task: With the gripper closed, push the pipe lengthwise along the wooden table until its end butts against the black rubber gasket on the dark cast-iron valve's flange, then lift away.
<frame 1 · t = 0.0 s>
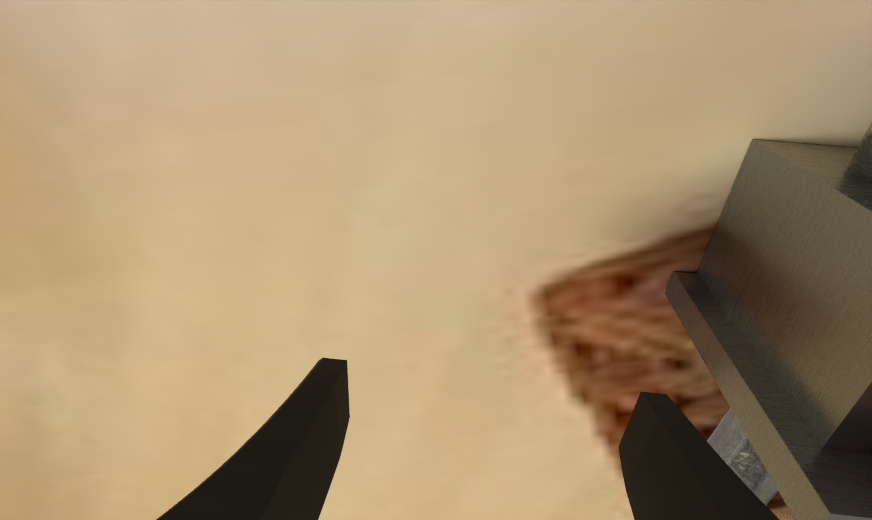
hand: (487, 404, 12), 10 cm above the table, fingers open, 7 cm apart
valve: (835, 222, 19), on the table
pipe: (704, 447, 27), on the table
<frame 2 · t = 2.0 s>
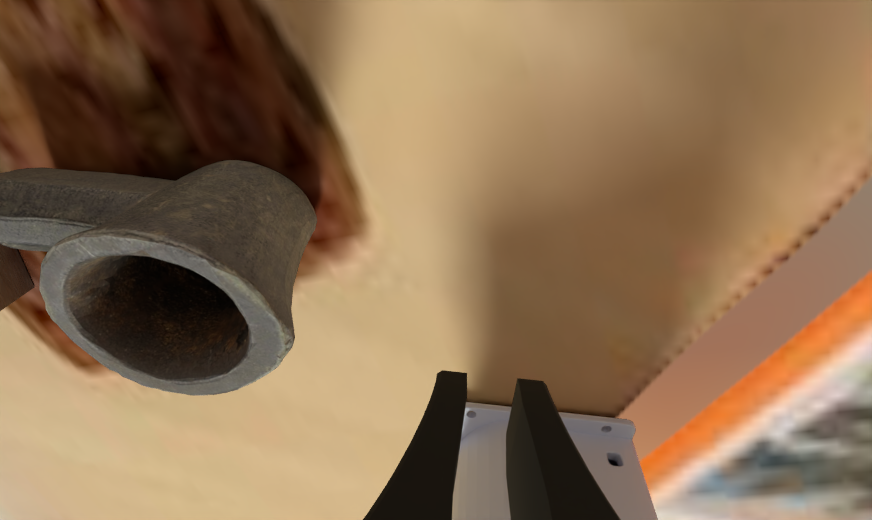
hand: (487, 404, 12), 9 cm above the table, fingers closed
pipe: (209, 201, 21), on the table
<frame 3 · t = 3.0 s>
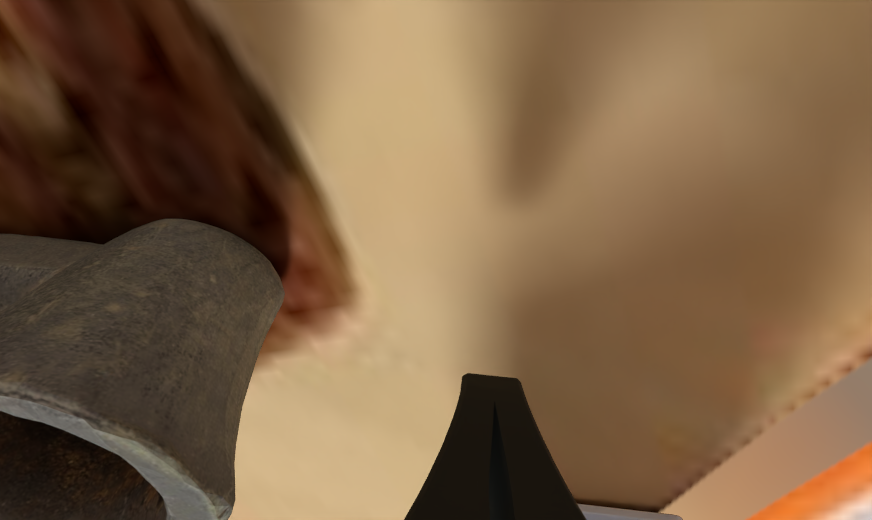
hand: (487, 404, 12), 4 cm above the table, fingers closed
pipe: (150, 263, 16), on the table
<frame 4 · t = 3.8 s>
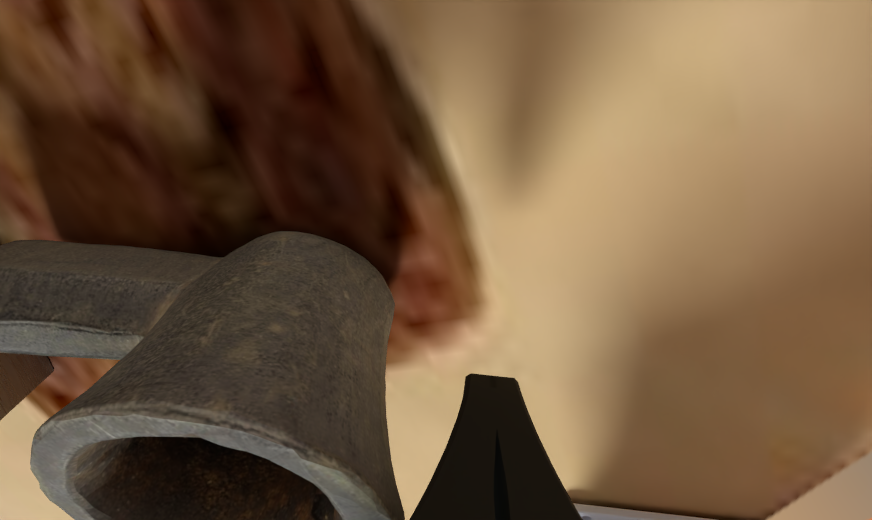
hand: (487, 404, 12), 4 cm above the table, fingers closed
pipe: (251, 275, 16), on the table, touching gripper
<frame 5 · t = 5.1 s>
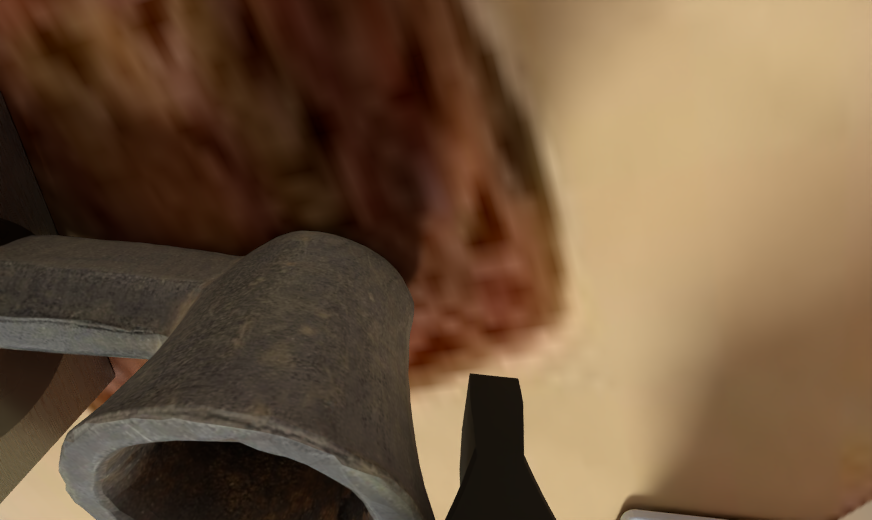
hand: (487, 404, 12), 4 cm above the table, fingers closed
pipe: (267, 274, 16), on the table, touching gripper, valve
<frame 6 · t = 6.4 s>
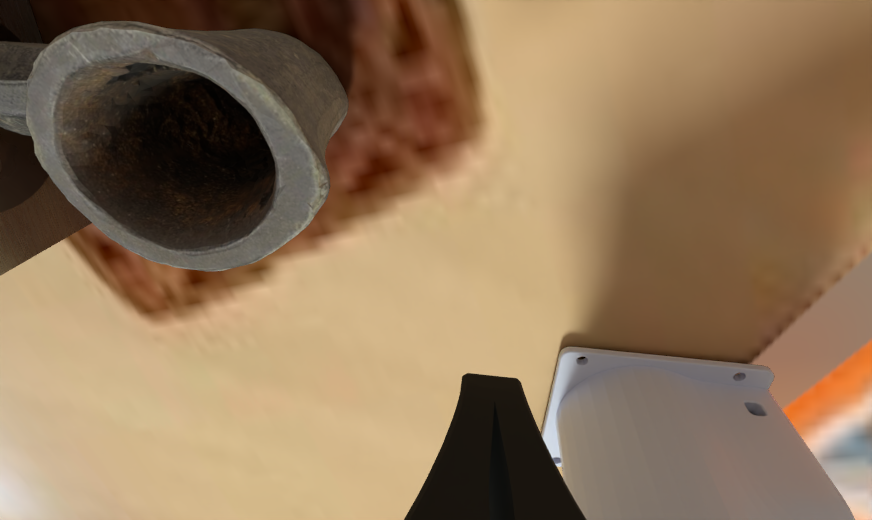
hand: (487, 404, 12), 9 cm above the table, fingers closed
pipe: (227, 93, 18), on the table
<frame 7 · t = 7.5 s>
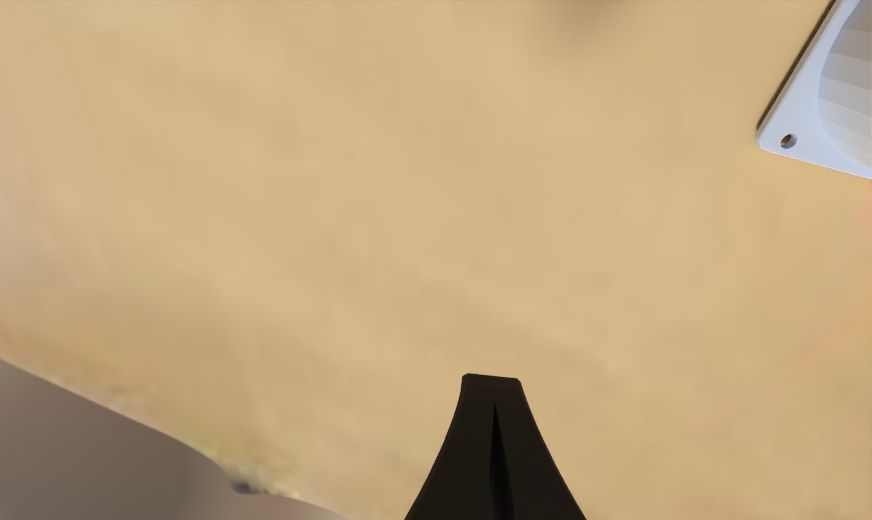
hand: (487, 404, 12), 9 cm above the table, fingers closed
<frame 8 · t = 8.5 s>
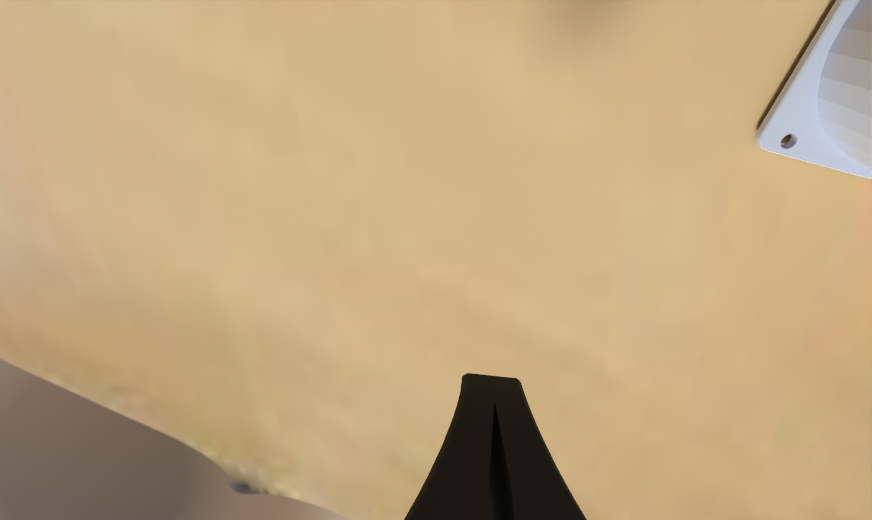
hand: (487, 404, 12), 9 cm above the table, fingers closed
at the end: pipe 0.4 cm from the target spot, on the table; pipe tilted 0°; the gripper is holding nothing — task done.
